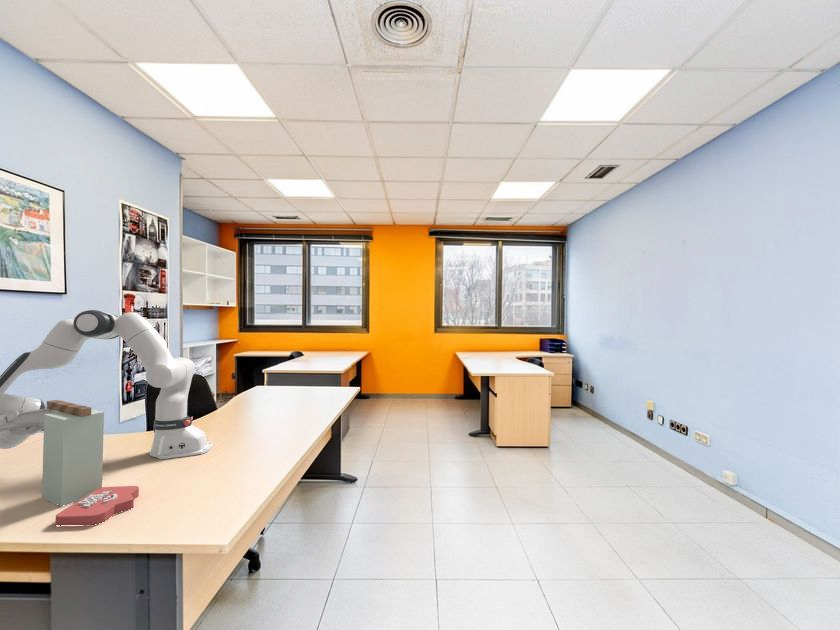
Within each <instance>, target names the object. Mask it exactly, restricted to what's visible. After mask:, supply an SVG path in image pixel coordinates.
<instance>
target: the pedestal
mask: <svg viewBox="0 0 840 630" xmlns="http://www.w3.org/2000/svg"><path fill="white" fill-rule="evenodd" d="M104 420H105V412H104V411H101V410H96V409H92V408H91V415H90V416H85V417H79V416H75V415H71V414H67V413H63V412H56V413H50V414H44V431H43V442H42V443H43V447H42V448H43V449H42V452H43V453H42V477H41V479H42V480H41V481H42V483H41V485H42V486H41V499H43V498H44V499H43V500H45V499H46V500H45V501H47V500H48V501H47V502H49V501H50V503H51V502H53V503H55V504H54V505H56V504H58V505H60V506H63V505H66V506H68V505H67V504H69V505H71V504H70V503H72V502H74V503H76V501H79V500H81V499H82V498H84V497H85V496H87V495H89V494H90V493H92V492H93V491H95V490H97V489H99V488H102V487H103V463H104V462H103V461H104V460H103V459H104V456H103V455H104V427H105V425H104V424H105V422H104ZM53 503H52V504H53ZM72 504H73V503H72ZM58 505H57V506H58ZM60 506H59V507H60ZM63 507H64V506H63Z"/></svg>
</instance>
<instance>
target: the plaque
mask: <svg viewBox="0 0 840 630" xmlns="http://www.w3.org/2000/svg"><path fill="white" fill-rule="evenodd" d="M139 491H140V486H137V485H128V486H127V485H125V486H124V485H122V486H121V485H120V486H102V488H99V489H97V490H95V491H93V492H92V493H90V494H89V495H87V496H85V497H84V498H82V499H81V500H79V501H77V502H74V503H72V504H70V505H68V507H66V508H64V509H63V510H61V511H59V512H58V513H56V515H55V526H56V525H60V526H61V525H95V524H99V523H102V522H104V523H106V522H107V521H108V520H110V519H111V518H112V517H114V516H115V515H117V514H116V513H118V514H120V513H119V512H121V511H124V512H126V511H125V510H127V511H129V510H128V509H130V510H132V509H133V508H134V505H135V502H134V501H135V500H136V499H137V498H138V497H139V495H140V494H139V493H140V492H139ZM135 498H136V499H135ZM134 499H135V500H134ZM131 508H132V509H131ZM121 513H122V512H121ZM114 514H115V515H114ZM113 515H114V516H113ZM111 516H112V517H111ZM110 517H111V518H110ZM109 518H110V519H109ZM106 520H107V521H106ZM105 521H106V522H105ZM102 524H103V523H102ZM99 525H100V524H99ZM95 526H96V525H95Z"/></svg>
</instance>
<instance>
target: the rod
mask: <svg viewBox="0 0 840 630" xmlns="http://www.w3.org/2000/svg"><path fill="white" fill-rule="evenodd" d="M46 408H47V409H51V410H55V411H59V412H63V413H67V414H71V415H75V416H79V417H85V416H90V415H91V409H92V407H90V406H86V405H81V404H78V403H77V404H76V403H73V402H68V401H63V400H60V399H53V400H47V401H46Z"/></svg>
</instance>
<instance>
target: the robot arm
mask: <svg viewBox="0 0 840 630" xmlns="http://www.w3.org/2000/svg"><path fill="white" fill-rule="evenodd" d="M119 337H120V338H121V339H122V340H123V341H124V342H125V344H127V346H129V348H130V349H131V350H132V351H133V352H134V354H135V355H136V356H137V357H138V358H139V360H140V362H141V363H142V365H143V367H144V370H145V372H146V373H145V380H146V382H147V383H148V385H150V386H151V387H154V388H160V391H159V394H158V396H157V398H156V400H155V415H154V417H155V418H154V420H153V433H154V434H153V435H154V436H153V441H152V445H151V448H150V451H149V456H150V457H153V458H157V459H158V460H166V459H174V458H182V457H189V456H190V457H191V456H197V455H203V454H205V453H207V452H209V451H210V450H211V449H212V448H213V445H214V444H213V442H212V441H208V439H207V435H206V432H205V431H204V430H202V429H200V428H199V427H197V426H195V425H194V424H193V417H194V416H191V417H190V416H189V415H188V398H189V392H190V388H191V384H192V380H193V377H194V374H195V372H196V364H195V362H194V361H193V360H192V359H190V358H188V357H187V358H186V357H180V356H179V357H173V356H172V354H171V353H170V352H171V351H170V350H169V348H168V343H167V340H165V339H164V338H163V336H162V335H161V334H160V332H158V330H157V329H156V328H155V327H154V326H153V325H152V324H151V323H150V322H149V321H148V320H147V319H146V318H144V316H142V315H141V314H139V313H137V312H134V311H132V312H131V311H129V312H126V313H122V314H121V315H119V316H118V315H116V314H112V313H110V312H106V311H102V310H97V309H96V310H95V309H89V310H84V311H81V312H80V313H78V314H77V315H76V316H75V317H74V319H71V318H69V319H68V318H66V319H65V318H64V319H61V320H60V321H58V322H57V323H56V324H55V325H54V327H53V328H51V329H50V330H49V332H48V334H47V335H46V336H45V338H44V339H43V341H42V342H41V343H40V345H39V346H37V347H36V348H35V349H34V350H32V351H28V352H23V353H22V354H20V355H19V356H18V357H16V359H15V360H14V361H13V362H12V363H11V364H10V365H9V366H8V367H7V368H6V369H5V370H4V371H3V372H2V373H1V374H0V449H2V450H7V449H8V450H9V449H12V448H15V447H18V446H19V445H21V444H22V443H24V442H25V441H26V440H27V439H29V438H30V436H33V435H36V434H38V433H40V432H44V414H50V413H56V412H59V411H55V410H51V409H47V406H46V405H45V403H44V400H42V399H39V398H34V397H29V396H19V395H14V394H8V393H5V392H6V391H7V390H8V388H10V386H12V384H13V383H14V382H15V381H16V380H17V379H18V378H19V377H20V376H21V375H22V374H25V373H27V372H30V371H37V370H52V369H57V368H58V369H59V368H62V367H65V366H67V365H69V364H70V363H72V361H74V359H75V357H76V356H77V355H78V353H79V351H80V350H81V348H82V346H83V345H84V343H85V342H86V341H87V340H89V339H97V340H112V339H116V338H119Z"/></svg>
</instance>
